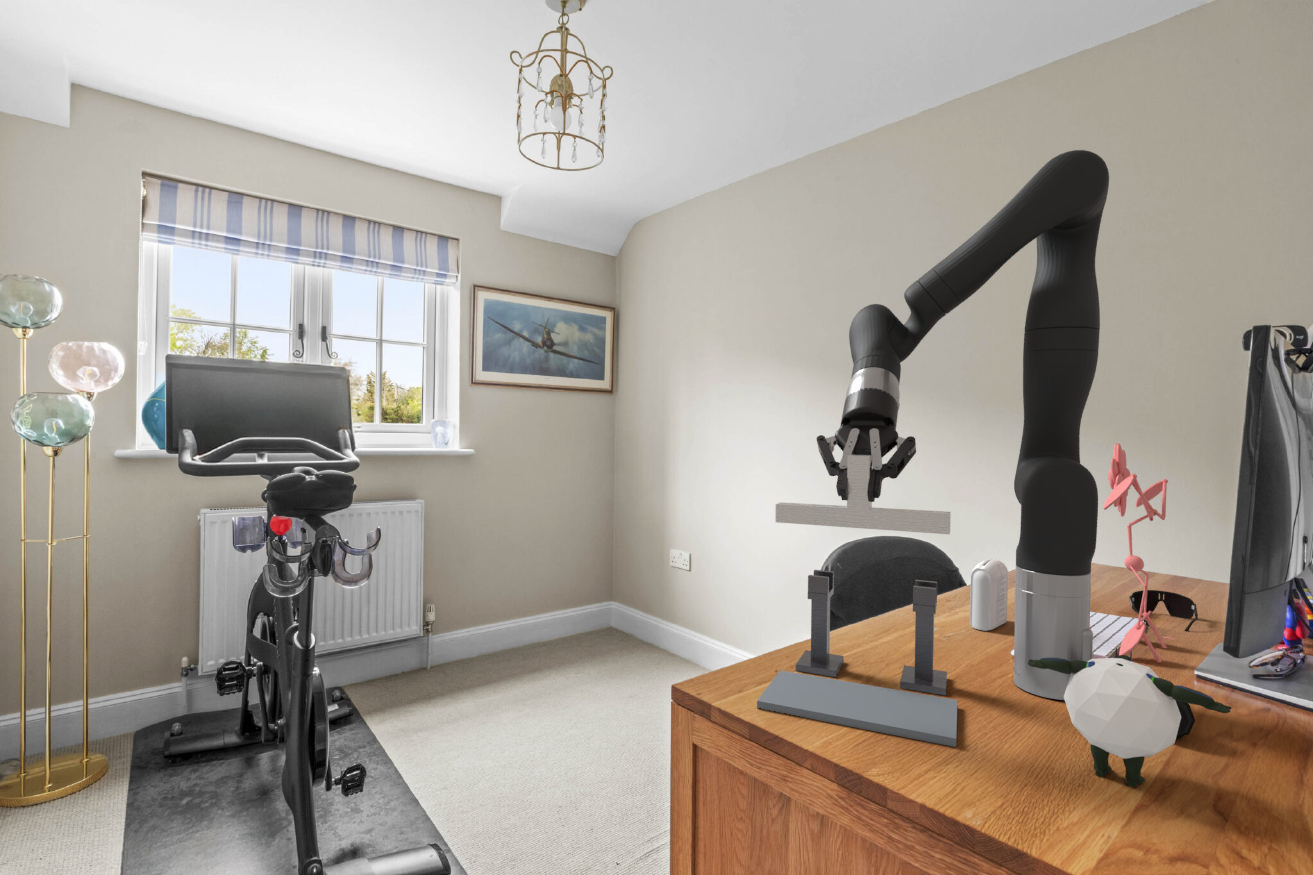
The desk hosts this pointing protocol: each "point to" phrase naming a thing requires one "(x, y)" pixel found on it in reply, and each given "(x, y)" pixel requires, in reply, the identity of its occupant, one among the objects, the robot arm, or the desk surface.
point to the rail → (863, 508)
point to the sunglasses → (1166, 604)
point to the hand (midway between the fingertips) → (857, 496)
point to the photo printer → (988, 595)
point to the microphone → (1185, 719)
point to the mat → (863, 707)
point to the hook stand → (830, 664)
